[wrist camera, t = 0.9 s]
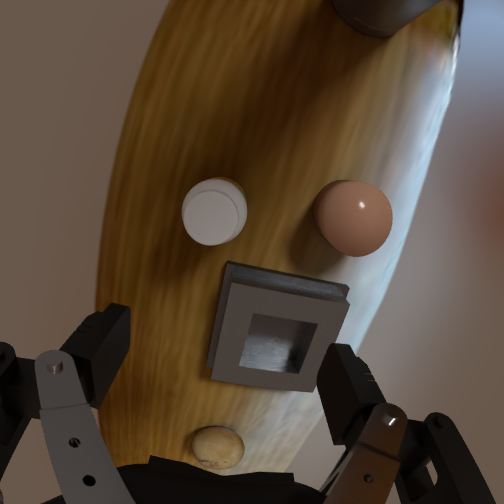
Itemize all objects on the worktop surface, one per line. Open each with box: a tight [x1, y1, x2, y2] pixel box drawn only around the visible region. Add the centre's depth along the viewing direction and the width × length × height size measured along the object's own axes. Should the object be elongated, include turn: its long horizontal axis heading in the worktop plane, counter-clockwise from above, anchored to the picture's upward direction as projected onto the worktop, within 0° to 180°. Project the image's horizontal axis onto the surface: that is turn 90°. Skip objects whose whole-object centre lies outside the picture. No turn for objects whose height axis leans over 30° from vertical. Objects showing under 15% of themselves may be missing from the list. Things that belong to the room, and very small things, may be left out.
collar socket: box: [206, 261, 350, 393], centre depth 33 cm, size 14×14×4 cm
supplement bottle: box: [182, 177, 247, 245], centre depth 26 cm, size 5×5×10 cm
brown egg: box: [313, 180, 392, 257], centre depth 29 cm, size 7×7×5 cm
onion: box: [192, 426, 245, 470], centre depth 37 cm, size 8×8×7 cm
